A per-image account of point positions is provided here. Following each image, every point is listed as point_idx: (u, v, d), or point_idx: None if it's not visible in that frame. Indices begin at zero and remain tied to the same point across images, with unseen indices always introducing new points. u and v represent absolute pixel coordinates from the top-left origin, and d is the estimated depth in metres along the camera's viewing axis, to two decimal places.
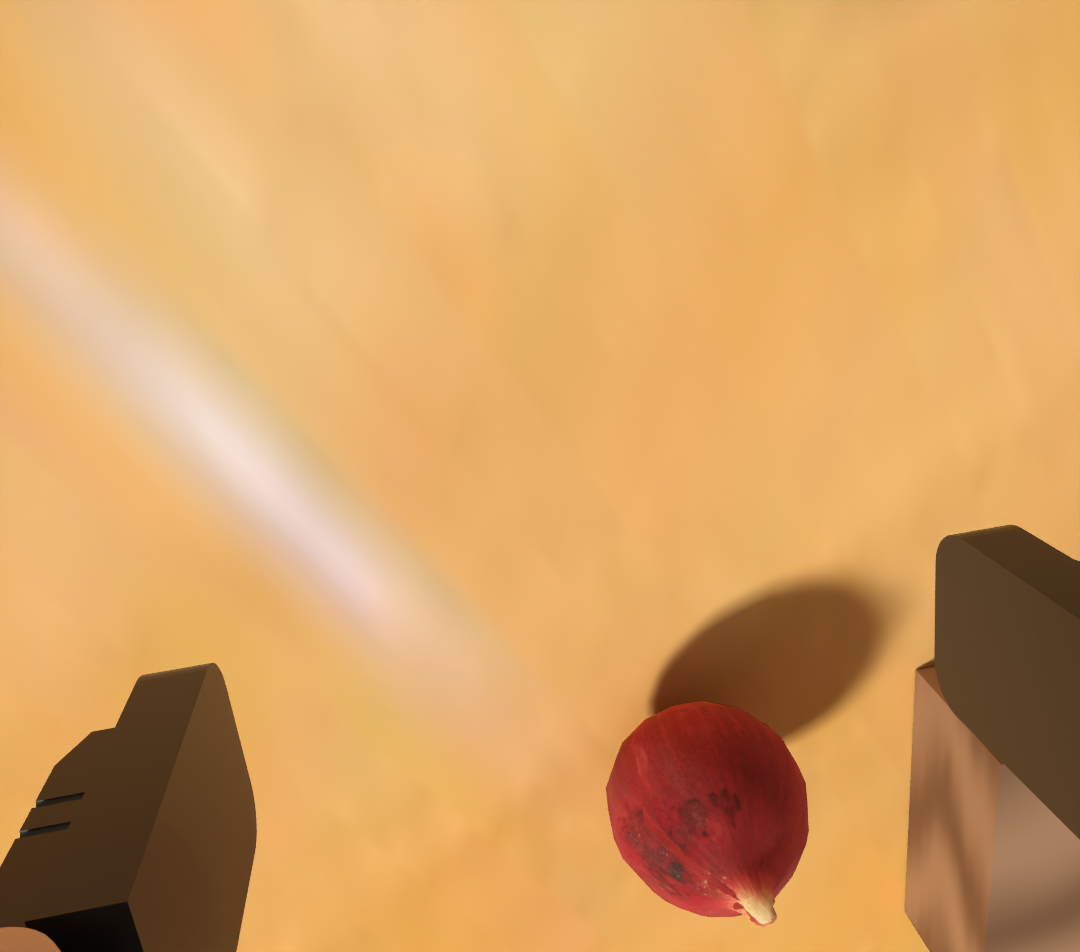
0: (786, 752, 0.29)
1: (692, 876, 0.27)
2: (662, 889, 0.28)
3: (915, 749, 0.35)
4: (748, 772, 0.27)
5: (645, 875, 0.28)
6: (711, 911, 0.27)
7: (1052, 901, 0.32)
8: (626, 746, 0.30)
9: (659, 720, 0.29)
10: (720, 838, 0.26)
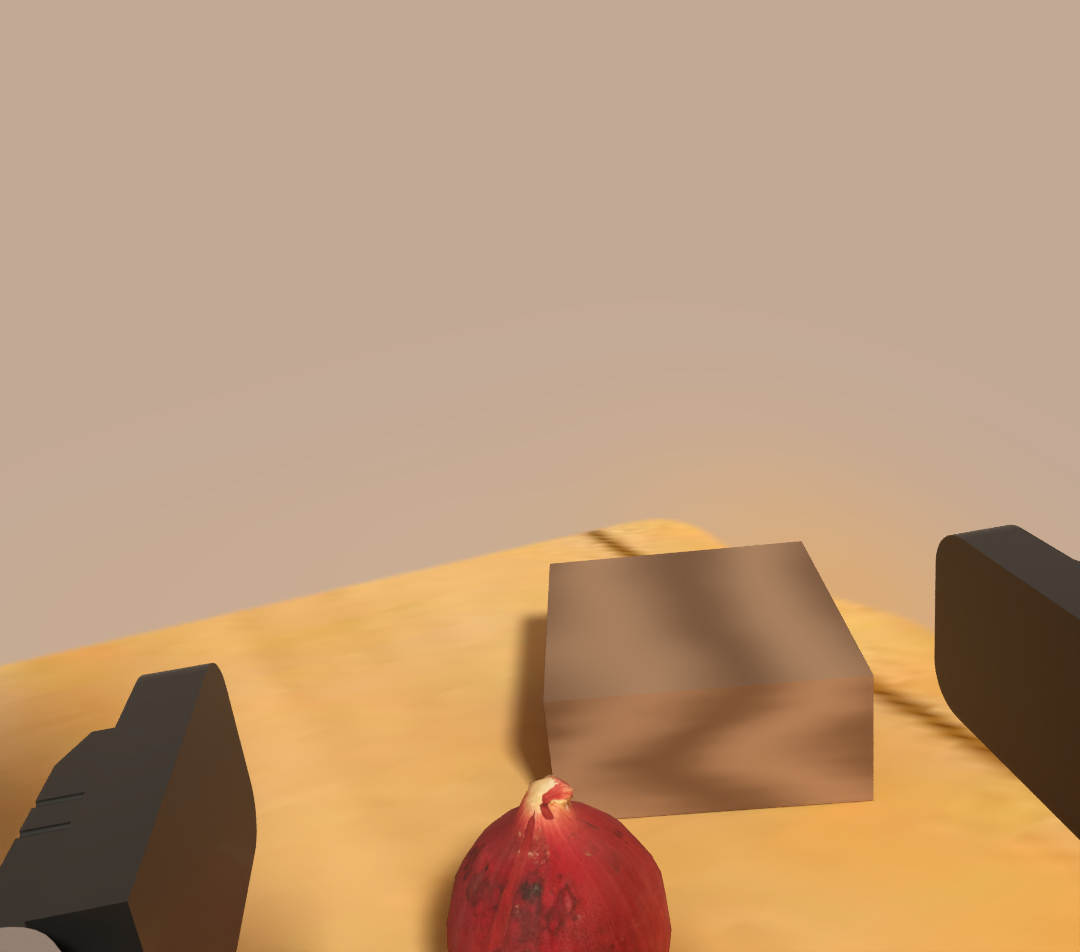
0: None
1: (529, 869, 0.24)
2: (581, 916, 0.23)
3: (647, 811, 0.35)
4: None
5: (575, 942, 0.23)
6: (584, 851, 0.24)
7: (710, 654, 0.35)
8: None
9: None
10: (490, 851, 0.25)
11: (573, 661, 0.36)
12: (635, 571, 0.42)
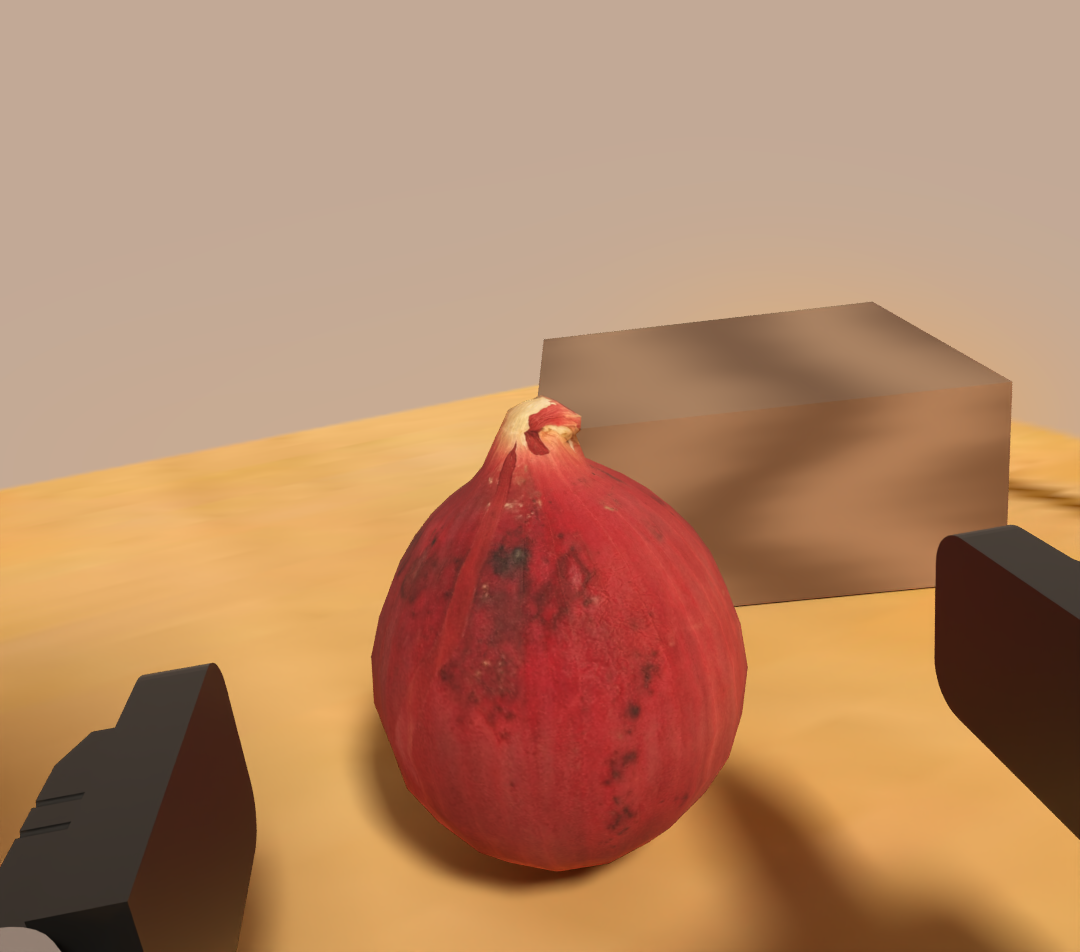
0: None
1: (507, 528, 0.14)
2: (599, 599, 0.13)
3: None
4: None
5: (589, 643, 0.13)
6: (603, 504, 0.14)
7: (770, 383, 0.25)
8: (438, 810, 0.14)
9: None
10: (441, 518, 0.14)
11: (576, 401, 0.26)
12: (656, 336, 0.32)
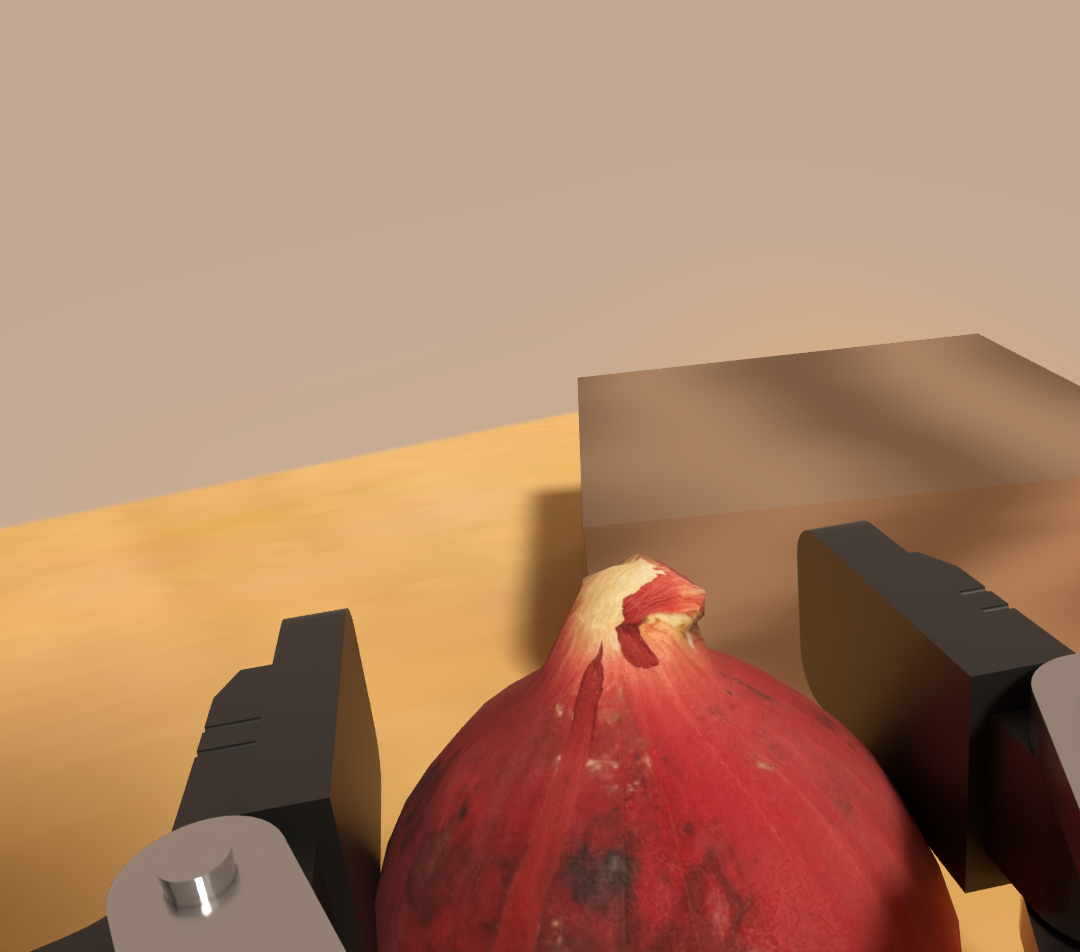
0: None
1: (592, 810, 0.08)
2: None
3: None
4: None
5: None
6: (754, 757, 0.08)
7: (886, 453, 0.19)
8: None
9: None
10: (475, 765, 0.09)
11: (632, 474, 0.20)
12: (717, 376, 0.26)
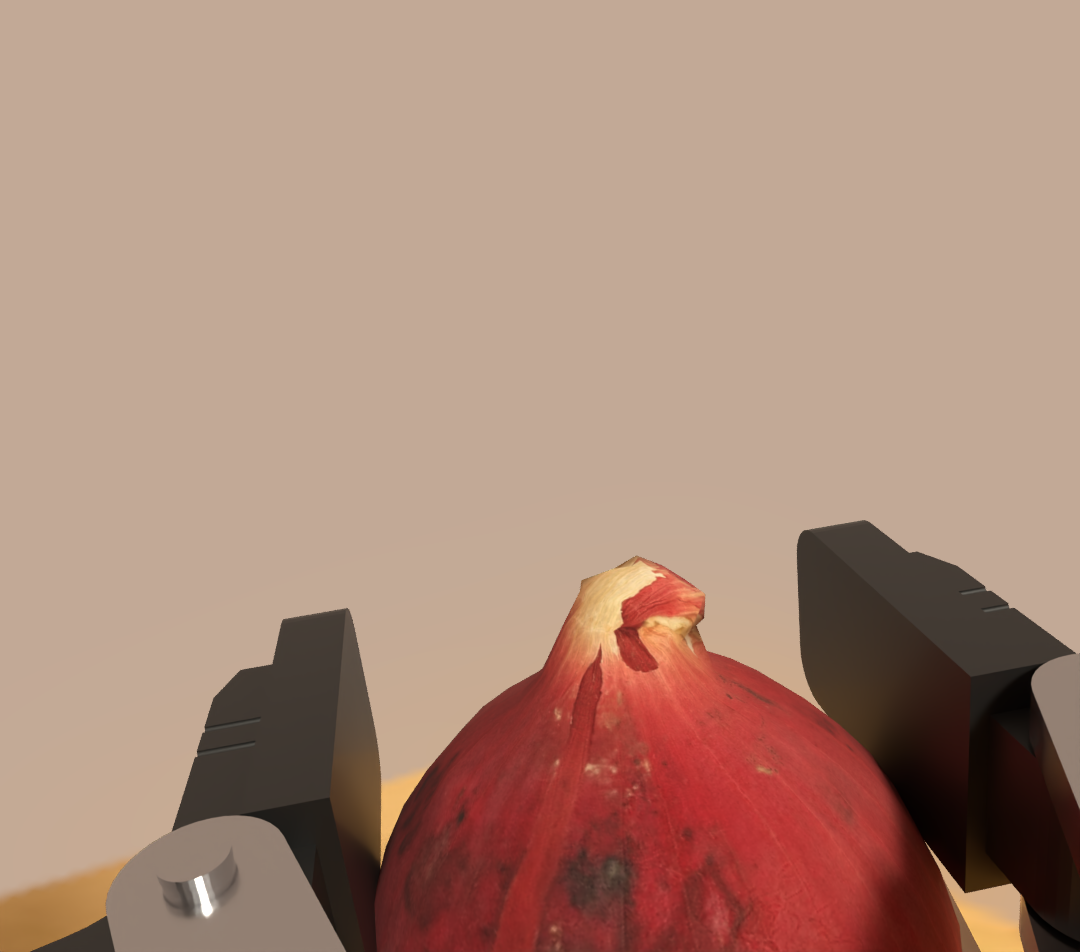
0: None
1: (591, 814, 0.08)
2: None
3: None
4: None
5: None
6: (753, 762, 0.08)
7: None
8: None
9: None
10: (474, 769, 0.09)
11: None
12: None
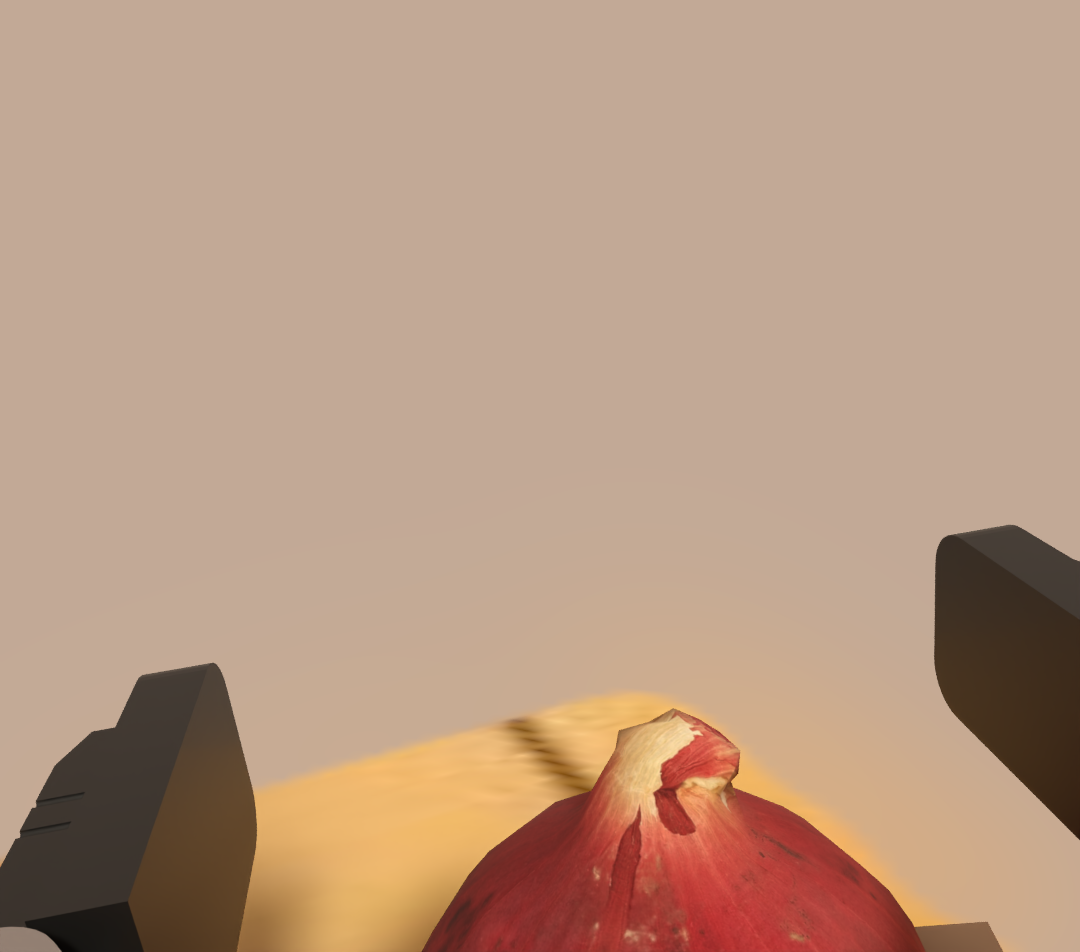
0: None
1: None
2: None
3: None
4: None
5: None
6: (787, 928, 0.08)
7: None
8: None
9: None
10: (510, 919, 0.09)
11: None
12: None
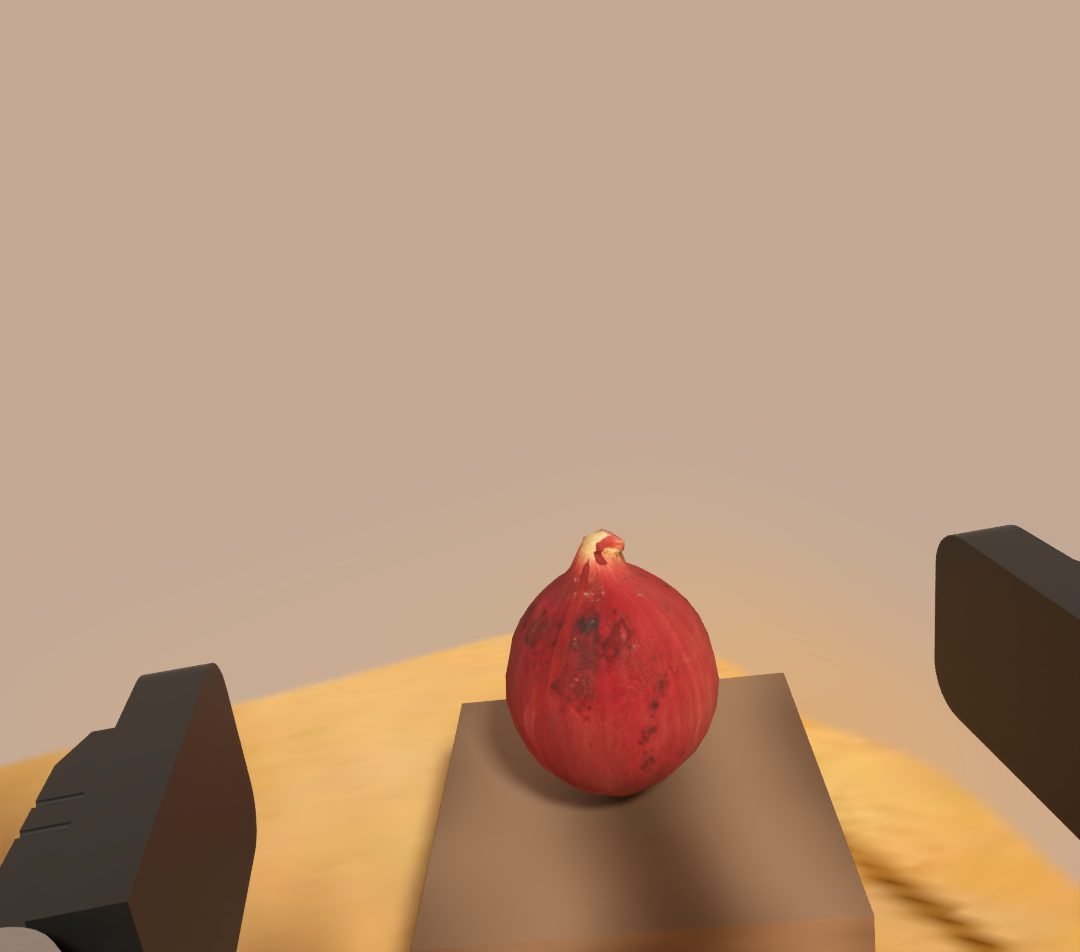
0: None
1: (585, 606, 0.25)
2: (636, 646, 0.25)
3: None
4: (521, 621, 0.28)
5: (631, 669, 0.25)
6: (637, 592, 0.26)
7: (649, 867, 0.26)
8: (547, 760, 0.26)
9: (523, 739, 0.27)
10: (547, 599, 0.26)
11: (463, 874, 0.26)
12: None
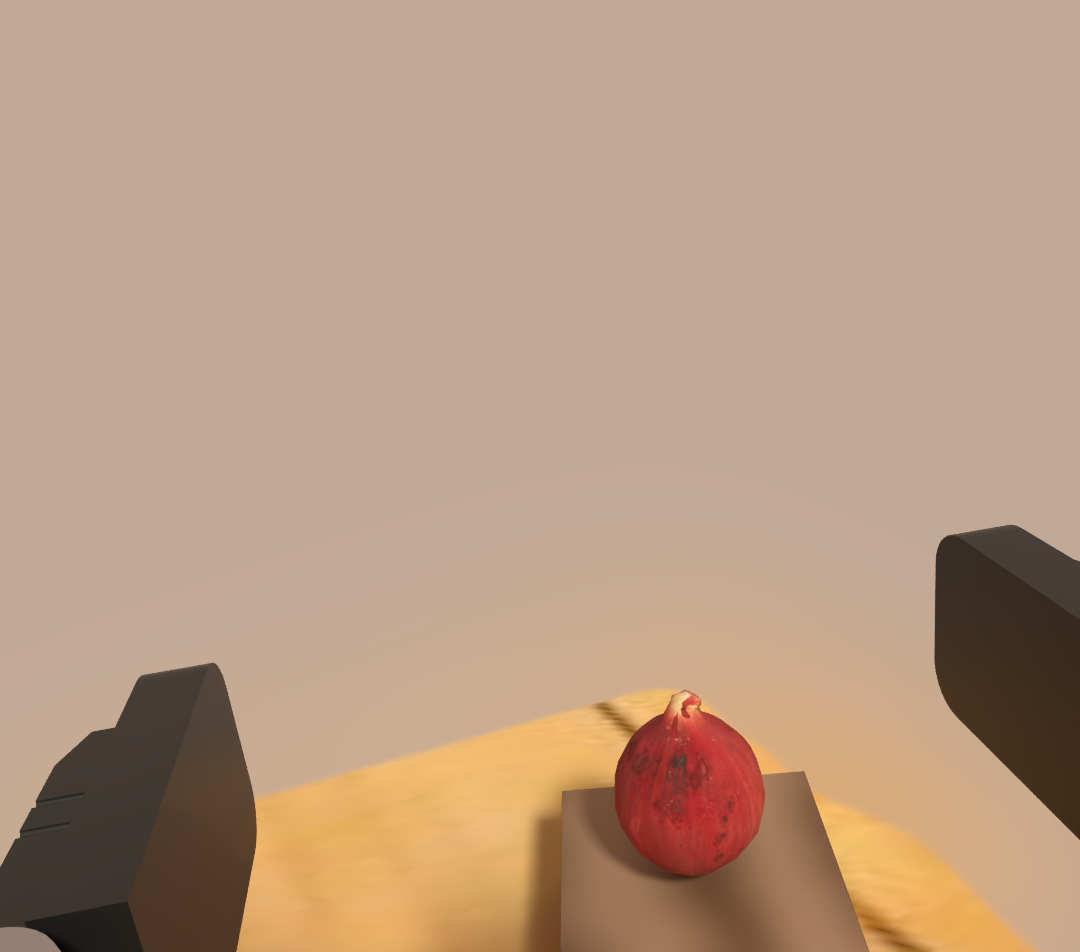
0: None
1: (676, 749, 0.37)
2: (712, 777, 0.36)
3: None
4: None
5: (709, 794, 0.36)
6: (711, 738, 0.37)
7: (719, 928, 0.37)
8: (647, 853, 0.37)
9: (627, 835, 0.38)
10: (647, 740, 0.38)
11: (587, 931, 0.38)
12: None
